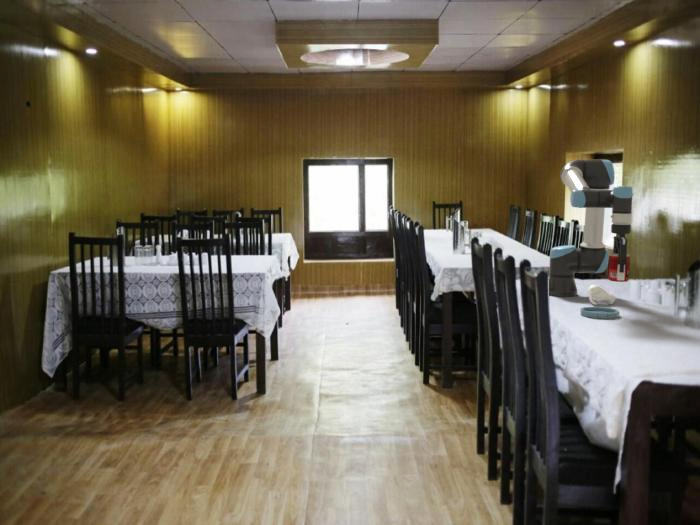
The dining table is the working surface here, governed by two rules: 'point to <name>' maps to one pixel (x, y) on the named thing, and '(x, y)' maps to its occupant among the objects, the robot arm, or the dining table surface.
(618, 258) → the robot arm
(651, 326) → the dining table surface
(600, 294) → the penguin figurine
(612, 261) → the canned food
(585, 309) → the dish
